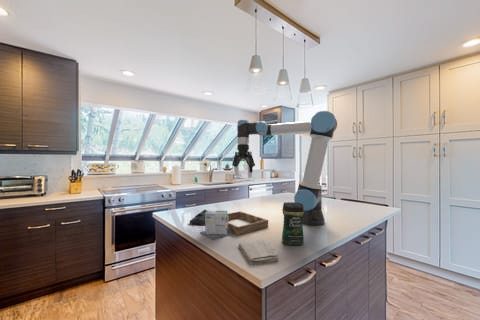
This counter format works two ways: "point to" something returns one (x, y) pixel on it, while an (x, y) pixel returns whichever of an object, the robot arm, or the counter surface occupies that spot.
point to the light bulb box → (216, 222)
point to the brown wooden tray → (256, 225)
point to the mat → (216, 235)
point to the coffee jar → (293, 223)
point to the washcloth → (258, 252)
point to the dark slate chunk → (199, 218)
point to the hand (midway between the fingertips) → (243, 177)
